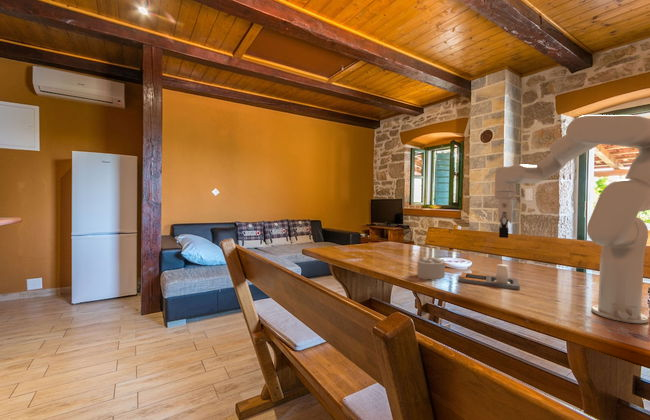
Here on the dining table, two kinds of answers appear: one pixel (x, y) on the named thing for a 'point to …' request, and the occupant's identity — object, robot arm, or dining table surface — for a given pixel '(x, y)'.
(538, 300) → the dining table surface
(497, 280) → the flanged peg
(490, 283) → the grey slotted board
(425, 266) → the lumpy-topped squat cylinder
